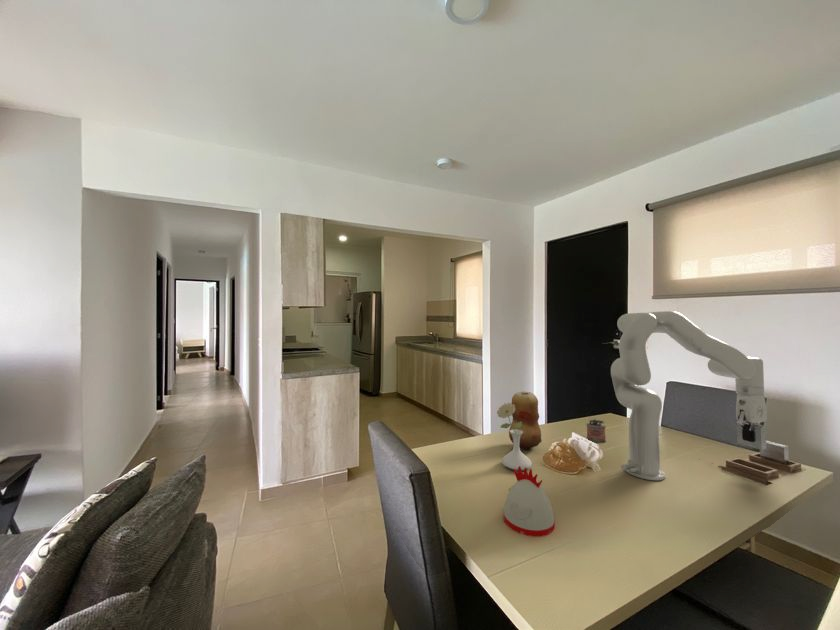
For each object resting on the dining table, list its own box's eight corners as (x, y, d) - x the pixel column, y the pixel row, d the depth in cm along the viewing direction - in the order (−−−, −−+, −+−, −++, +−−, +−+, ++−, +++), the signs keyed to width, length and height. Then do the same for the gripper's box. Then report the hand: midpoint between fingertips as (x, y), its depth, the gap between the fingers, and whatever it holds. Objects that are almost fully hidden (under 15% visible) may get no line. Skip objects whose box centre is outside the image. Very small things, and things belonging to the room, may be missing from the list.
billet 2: (784, 468, 124) (784, 447, 124) (760, 461, 131) (759, 440, 131) (789, 467, 125) (788, 446, 125) (764, 460, 132) (764, 440, 132)
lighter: (586, 440, 159) (586, 419, 159) (586, 438, 162) (586, 417, 162) (605, 443, 155) (605, 421, 155) (605, 440, 158) (605, 419, 158)
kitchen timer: (515, 502, 105) (515, 454, 105) (561, 518, 96) (560, 466, 96) (495, 523, 94) (494, 469, 94) (544, 543, 85) (543, 485, 85)
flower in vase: (528, 461, 135) (527, 399, 136) (535, 474, 124) (534, 406, 124) (495, 460, 137) (495, 399, 137) (499, 472, 125) (499, 406, 126)
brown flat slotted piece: (766, 485, 115) (766, 475, 115) (721, 469, 127) (721, 460, 127) (806, 473, 124) (805, 463, 124) (760, 459, 136) (760, 451, 136)
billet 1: (761, 449, 119) (760, 427, 119) (737, 443, 126) (736, 421, 126) (766, 448, 120) (765, 426, 120) (742, 442, 127) (741, 421, 127)
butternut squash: (508, 452, 145) (508, 394, 145) (509, 441, 157) (509, 388, 158) (542, 455, 141) (541, 396, 141) (540, 444, 153) (540, 390, 154)
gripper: (749, 394, 117) (751, 447, 117) (775, 390, 123) (777, 440, 122) (723, 390, 124) (725, 439, 124) (749, 386, 130) (751, 434, 129)
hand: (751, 439), depth 123 cm, fingers closed on billet 1, 3 cm apart
